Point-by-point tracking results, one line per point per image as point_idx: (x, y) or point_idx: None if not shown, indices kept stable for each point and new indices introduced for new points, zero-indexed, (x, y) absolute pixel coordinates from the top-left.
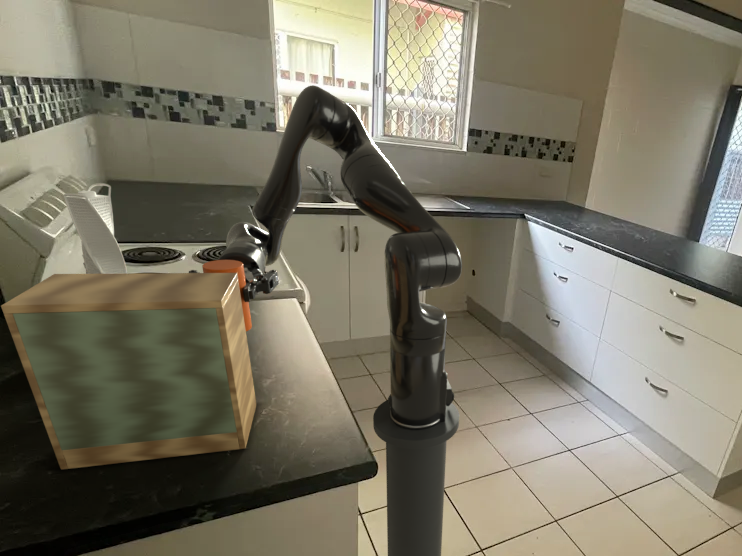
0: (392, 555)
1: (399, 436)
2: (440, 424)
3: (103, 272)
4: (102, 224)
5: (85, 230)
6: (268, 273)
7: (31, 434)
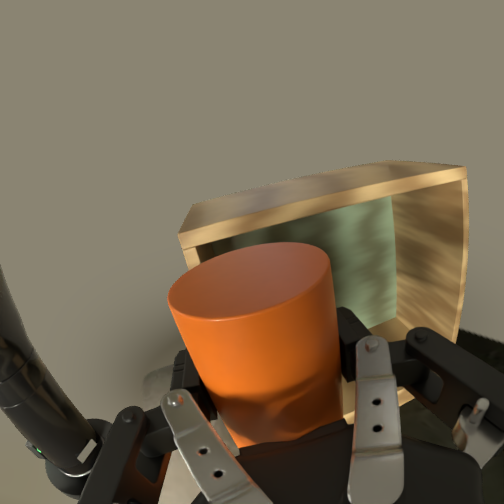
0: None
1: (109, 425)
2: None
3: None
4: None
5: None
6: (109, 491)
7: (471, 343)
